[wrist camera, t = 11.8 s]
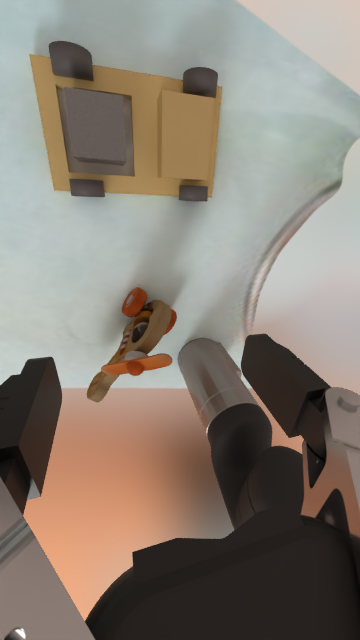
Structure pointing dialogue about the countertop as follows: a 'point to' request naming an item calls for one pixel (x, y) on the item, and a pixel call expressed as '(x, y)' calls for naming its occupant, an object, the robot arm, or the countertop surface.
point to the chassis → (132, 127)
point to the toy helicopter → (136, 342)
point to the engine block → (96, 126)
